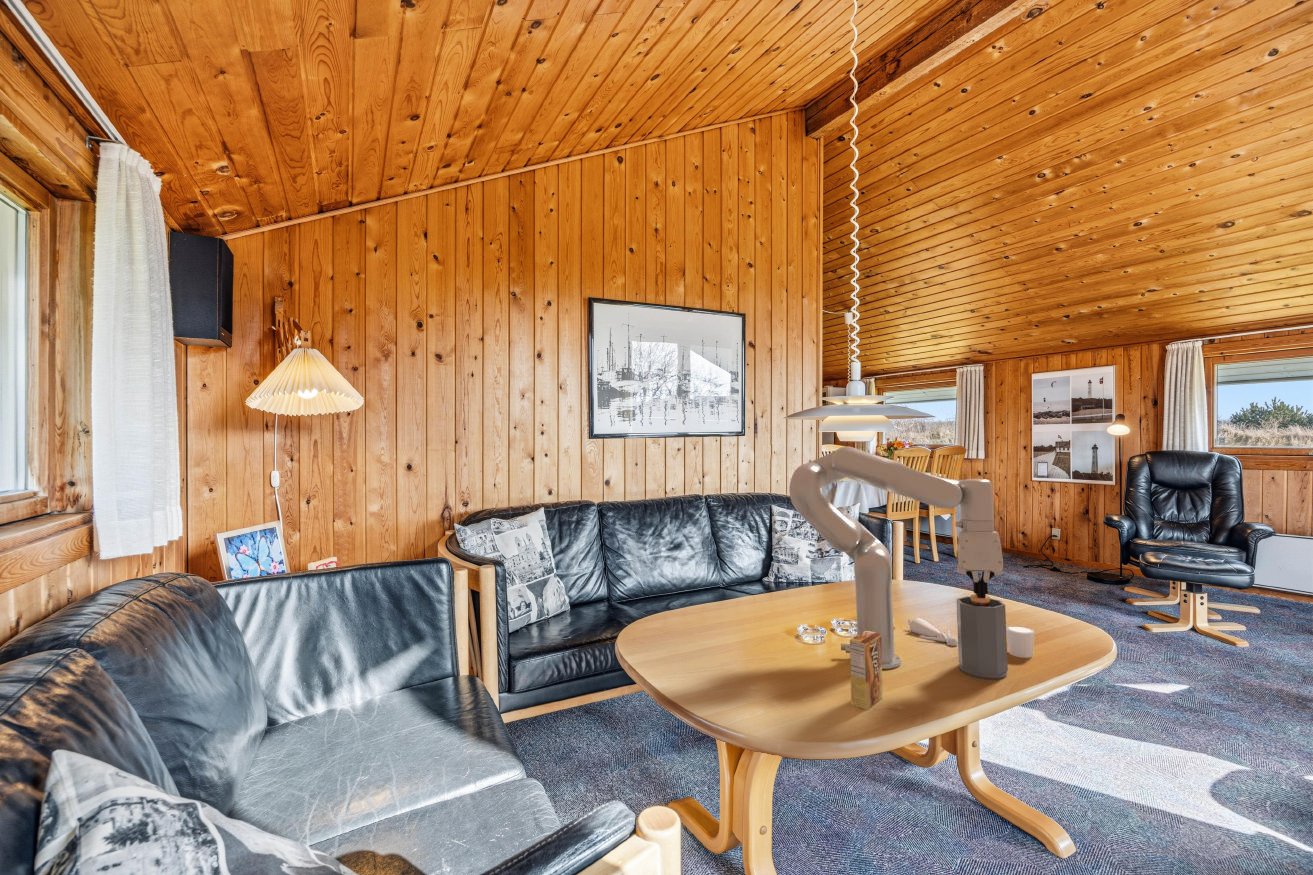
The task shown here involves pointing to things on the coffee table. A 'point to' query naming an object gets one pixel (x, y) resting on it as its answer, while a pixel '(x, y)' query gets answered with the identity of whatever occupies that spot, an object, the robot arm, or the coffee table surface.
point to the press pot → (982, 639)
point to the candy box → (866, 669)
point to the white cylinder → (1020, 641)
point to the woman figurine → (930, 632)
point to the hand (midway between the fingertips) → (980, 596)
